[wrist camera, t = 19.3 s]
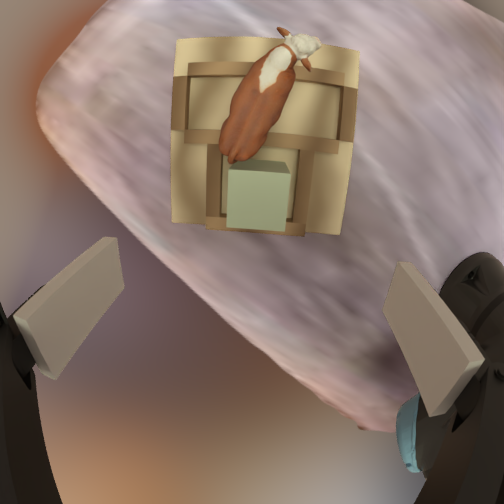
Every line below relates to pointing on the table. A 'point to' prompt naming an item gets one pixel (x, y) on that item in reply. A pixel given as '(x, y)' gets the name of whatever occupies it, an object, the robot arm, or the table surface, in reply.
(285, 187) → the sage-green tail block
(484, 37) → the table surface
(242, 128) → the bull figurine
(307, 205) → the beech board
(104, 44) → the table surface
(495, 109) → the table surface
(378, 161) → the table surface
